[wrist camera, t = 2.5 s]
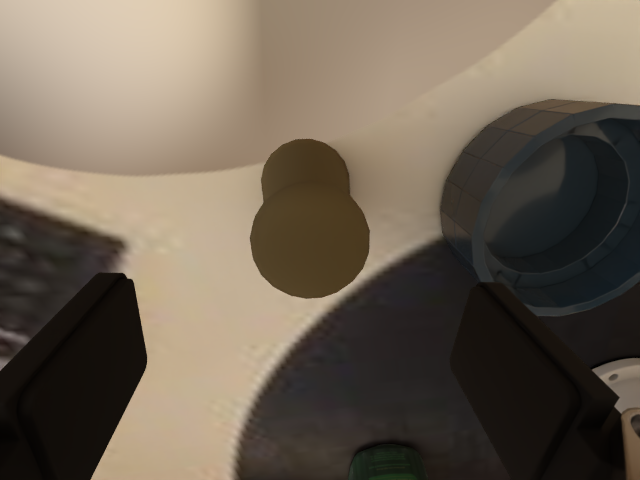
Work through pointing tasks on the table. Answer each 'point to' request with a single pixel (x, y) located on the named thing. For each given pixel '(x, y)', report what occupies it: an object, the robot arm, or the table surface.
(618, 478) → the robot arm
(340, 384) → the table surface
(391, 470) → the coffee jar
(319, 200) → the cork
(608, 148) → the bowl
